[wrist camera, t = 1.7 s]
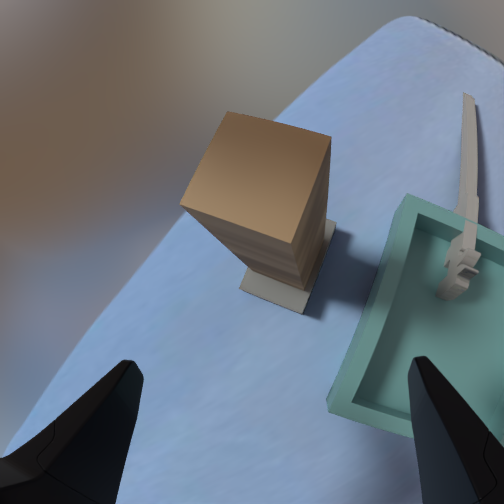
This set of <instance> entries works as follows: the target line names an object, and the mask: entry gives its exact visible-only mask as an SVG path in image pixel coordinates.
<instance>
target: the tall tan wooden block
mask: <svg viewBox="0 0 504 504" xmlns="http://www.w3.org/2000/svg"><path fill="white" fill-rule="evenodd" d="M330 156H331V137H330V136H327V135H324V134H320V133H317V132H313V131H309V130H306V129H302V128H298V127H294V126H291V125H287V124H283V123H279V122H274V121H270V120H266V119H261V118H257V117H252V116H248V115H243V114H238V113H233V112H227V113H226V115H225V117H224V118H223V120H222V122H221V124H220V126H219V127H218V129H217V131H216V133H215V135H214V137H213V139H212V141H211V143H210V144H209V146H208V148H207V150H206V152H205V154H204V156H203V158H202V160H201V162H200V164H199V165H198V168H197V170H196V171H195V174H194V175H193V178H192V180H191V181H190V184H189V186H188V188H187V190H186V192H185V194H184V196H183V198H182V200H181V202H180V205H181V206H182V207H183V208H184V209H185V210H186V211H187V212H188V213H189V214H190V215H192V216H193V217H194V218H195V219H196V220H197V221H198V222H199V223H200V224H201V225H203V226H204V227H205V228H206V229H207V230H208V231H209V232H210V233H211V234H212V235H213V236H215V237H216V238H217V239H218V240H219V241H220V242H221V243H222V244H223V245H224V246H226V247H227V248H228V249H229V250H230V251H231V252H232V253H233V254H234V255H236V256H237V257H238V258H239V259H240V260H241V261H242V262H243V263H244V264H245V265H247V266H248V268H247V271H246V273H245V275H244V278H243V280H242V282H241V285H240V287H239V289H241V290H243V291H245V292H247V293H250V294H252V295H255V296H257V297H260V298H262V299H265V300H267V301H269V302H272V303H274V304H277V305H279V306H282V307H284V308H287V309H290V310H292V311H295V312H297V313H300V314H302V315H303V312H304V310H305V307H306V305H307V303H308V300H309V297H310V295H311V292H312V290H313V287H314V285H315V282H316V280H317V277H318V274H319V272H320V269H321V267H322V264H323V261H324V259H325V256H326V253H327V250H328V248H329V245H330V242H331V239H332V237H333V234H334V231H335V228H336V223H337V222H334V221H331V220H329V219H326V212H327V200H328V187H329V173H330Z"/></svg>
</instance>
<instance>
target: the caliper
mask: <svg viewBox="0 0 504 504" xmlns="http://www.w3.org/2000/svg"><path fill="white" fill-rule="evenodd" d="M477 172H478V152H477V125H476V111H475V100H474V98H472V96H471V95H468V94H466V93H464V92H463V114H462V143H461V170H460V185H459V196H458V205H457V206H456V208H455V209H454V211H453V213H456V214H458V215H460V216H462V217H465V218H467V219H469V220H471V221H473V222H475V223H477V222H478V207H479V197H478V196H477ZM476 234H477V225H476V224H474V223H471V222H469V221H467V220H465V226H464V231H463V233H461V234H460V235H458V236H457V237H456V238H454V239H453V240H451V246H450V247H449V249H448V251H447V254H446V258H445V262H444V266H443V267H446V268H448V274H447V276H446V277H445V278H444V279H443V280H442V281H441V282H440V283H439V285H438V288H437V292H436V295H435V296H436V297H438V298H441V299H443V300H446V301H449V300H454V299H455V298H456V297H458V296H459V295H460V294H462V293H463V292H464V291H466V290H467V289H468V286H469V282H470V279H471V278H473V277H474V276H475V275H477V274H478V273H479V271H478V270H476V269H474V268H473V267H474V266H475V264H476V263H477V261H478V259H479V258H480V256H481V253H479V252H477V251H475V244H476Z"/></svg>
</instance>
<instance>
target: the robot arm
mask: <svg viewBox="0 0 504 504" xmlns="http://www.w3.org/2000/svg"><path fill="white" fill-rule="evenodd" d="M143 381H144V378H143V374H142V372H141V371H140V369H139V368H138V366H137V364H136V363H135V362H134V361H133V360H122V361H121V362H120V363H118V364H117V365H116V366H115V367H114V368H113V369H112V370H111V371H109V372H108V373H107V374H106V375H105V376H104V377H103V378H101V379H100V380H99V381H98V382H97V383H96V384H95V385H93V386H92V387H91V388H90V389H89V390H88V391H87V392H86V393H84V394H83V395H82V396H81V397H80V398H79V399H78V400H76V401H75V402H74V403H73V404H72V405H71V406H70V407H69V408H67V409H66V410H65V411H64V412H63V413H62V414H61V415H60V416H58V417H57V418H56V420H54V421H53V422H52V423H50V424H49V425H48V426H47V427H46V428H45V429H43V430H42V431H41V432H40V433H39V434H37V435H36V436H35V437H33V438H32V439H31V440H29V441H28V442H27V443H25V444H24V445H22V446H21V447H20V448H18V449H17V450H15V451H14V452H13V453H11V454H10V455H8V456H6V457H3V458H0V504H115V503H116V499H117V494H118V490H119V486H120V482H121V478H122V473H123V469H124V465H125V462H126V458H127V454H128V450H129V446H130V442H131V439H132V435H133V431H134V428H135V424H136V420H137V416H138V410H139V404H140V398H141V393H142V387H143ZM408 389H409V400H410V413H411V423H412V430H413V435H414V441H415V447H416V453H417V460H418V467H419V474H420V482H421V490H422V500H423V504H504V447H503V446H502V444H501V443H500V442H499V441H498V440H497V438H496V437H495V436H494V435H493V433H492V432H491V431H489V429H488V427H487V426H486V425H485V424H484V422H483V421H482V420H481V419H480V418H479V416H478V415H477V414H476V413H475V411H474V410H473V409H472V408H471V407H470V405H469V404H468V403H467V402H466V401H465V400H464V398H463V397H462V396H461V395H460V394H459V392H458V391H457V390H456V389H455V388H454V387H453V385H452V384H451V383H450V382H449V381H448V380H447V379H446V377H445V376H444V375H443V374H442V373H441V372H440V371H439V369H438V368H437V367H436V366H435V365H434V364H433V363H432V362H431V360H430V359H429V358H428V357H427V356H417V357H414V358H413V360H412V362H411V365H410V368H409V371H408Z"/></svg>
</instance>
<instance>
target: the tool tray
mask: <svg viewBox="0 0 504 504" xmlns="http://www.w3.org/2000/svg"><path fill="white" fill-rule="evenodd" d="M465 220H467V221H469V222H471V223H474V224H476V225H477V234H476V244H475V251H477V252H479V253H481V256H480V258H479V259H478V261H477V263H476V264H475V266H474V267H473V268H474V269H476V270H478V271H479V273H478V274H477V275H475V276H474V277H473V278H471V279H470V282H469V286H468V289H467V290H466V291H464V292H463V293H462V294H460V295H459V296H458V297H456V298H455V299H454V300H449V301H446V300H443V299H441V298H438V297H436V296H435V295H436V292H437V288H438V285H439V283H440V282H441V281H442V280H443V279H444V278H445V277H446V276H447V274H448V268H446V267H443V266H444V262H445V258H446V254H447V251H448V249H449V247H450V246H451V240H453V239H454V238H456V237H457V236H458V235H460V234H461V233H463V231H464V226H465ZM417 356H427V357H428V358H429V359H430V360H431V362H432V363H433V364H434V365H435V366H436V367H437V368H438V369H439V371H440V372H441V373H442V374H443V375H444V376H445V377H446V379H447V380H448V381H449V382H450V383H451V384H452V385H453V387H454V388H455V389H456V390H457V391H458V392H459V394H460V395H461V396H462V397H463V398H464V400H465V401H466V402H467V403H468V404H469V405H470V407H471V408H472V409H473V410H474V411H475V413H476V414H477V415H478V416H479V418H480V419H481V420H482V421H483V422H484V424H485V425H486V426H487V427H488V429H489V431H491V432H492V433H493V435H494V436H495V437H496V438H497V440H498V441H499V442H500V443H501V444H502V446H503V447H504V236H502V235H500V234H498V233H496V232H494V231H492V230H490V229H488V228H486V227H484V226H482V225H480V224H478V223H475V222H473V221H471V220H469V219H467V218H465V217H462V216H460V215H458V214H456V213H453V212H451V211H449V210H447V209H444V208H442V207H440V206H437V205H435V204H432V203H430V202H428V201H425V200H423V199H420V198H418V197H415V196H413V195H410V194H408V193H407V194H406V196H405V197H404V199H403V201H402V202H401V204H400V205H399V207H398V208H397V210H396V211H395V214H394V218H393V221H392V225H391V228H390V232H389V235H388V239H387V242H386V245H385V249H384V252H383V255H382V258H381V261H380V264H379V267H378V270H377V273H376V276H375V279H374V282H373V285H372V288H371V291H370V294H369V297H368V299H367V302H366V305H365V308H364V310H363V313H362V316H361V318H360V321H359V324H358V326H357V329H356V331H355V334H354V336H353V339H352V341H351V344H350V346H349V349H348V351H347V353H346V356H345V358H344V360H343V363H342V365H341V367H340V370H339V372H338V374H337V376H336V379H335V381H334V383H333V385H332V388H331V390H330V392H329V394H328V396H327V398H326V401H327V407H328V412H329V413H332V414H335V415H338V416H341V417H344V418H347V419H350V420H353V421H356V422H359V423H362V424H365V425H368V426H371V427H375V428H378V429H381V430H385V431H388V432H392V433H395V434H399V435H402V436H406V437H410V438H414V435H413V430H412V423H411V413H410V400H409V389H408V371H409V368H410V365H411V362H412V360H413V358H414V357H417Z"/></svg>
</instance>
